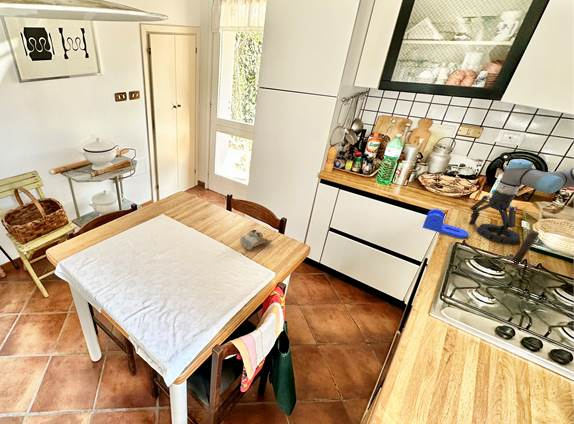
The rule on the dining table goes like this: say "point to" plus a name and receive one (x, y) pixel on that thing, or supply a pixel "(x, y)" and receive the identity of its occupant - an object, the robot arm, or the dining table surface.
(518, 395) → the dining table surface
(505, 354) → the dining table surface
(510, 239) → the tape roll
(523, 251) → the peg stand
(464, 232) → the bracket
